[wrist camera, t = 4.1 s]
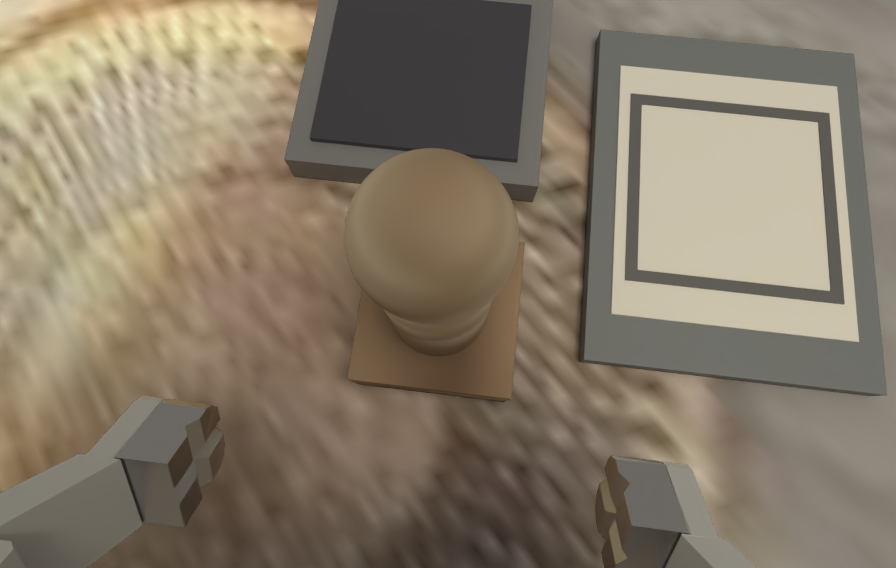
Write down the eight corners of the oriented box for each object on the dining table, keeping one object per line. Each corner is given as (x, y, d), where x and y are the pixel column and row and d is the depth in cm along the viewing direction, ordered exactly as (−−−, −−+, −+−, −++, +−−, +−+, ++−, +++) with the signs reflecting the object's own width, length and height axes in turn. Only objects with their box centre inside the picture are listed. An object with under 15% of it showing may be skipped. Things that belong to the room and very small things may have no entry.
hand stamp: (360, 384, 22) (243, 335, 9) (381, 248, 23) (305, 56, 11) (503, 401, 21) (574, 375, 9) (515, 263, 23) (590, 84, 11)
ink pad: (294, 176, 24) (282, 155, 22) (332, -1, 27) (323, -33, 25) (532, 201, 24) (539, 183, 22) (547, 19, 26) (554, -11, 24)
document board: (579, 361, 22) (585, 358, 21) (596, 41, 26) (601, 27, 25) (871, 396, 21) (890, 395, 20) (841, 64, 25) (856, 51, 25)
